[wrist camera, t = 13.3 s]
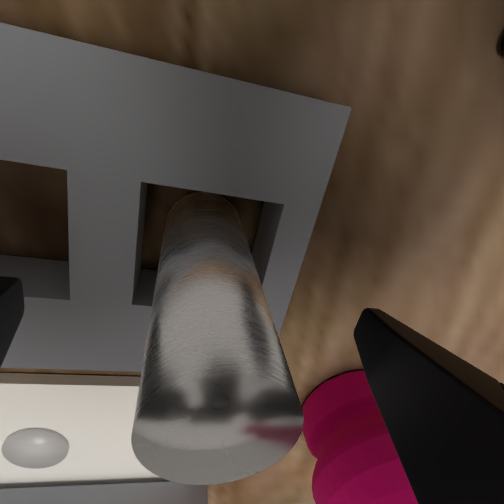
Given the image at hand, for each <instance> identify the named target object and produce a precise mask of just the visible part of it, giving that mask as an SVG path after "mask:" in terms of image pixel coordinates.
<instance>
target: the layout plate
mask: <svg viewBox="0 0 504 504" xmlns="http://www.w3.org/2000/svg"><path fill="white" fill-rule="evenodd" d="M140 379H141V377H134V376H98V375H62V374H26V373H0V489H8V488H32V487H55V486H78V485H101V484H125V483H148V482H171V481H169V480H167V479H164V478H161V477H159V476H157V475H155V474H153V473H152V472H150V471H149V470H147V469H146V468H145V467H144V466H143V465H142V464H141V463H140V462H139V461H138V459H137V458H136V456H135V454H134V452H133V448H132V444H131V435H132V429H133V423H134V416H135V410H136V404H137V397H138V391H139V385H140Z"/></svg>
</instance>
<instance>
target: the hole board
mask: <svg viewBox="0 0 504 504" xmlns="http://www.w3.org/2000/svg"><path fill="white" fill-rule="evenodd" d="M351 109H352V107H348V106H344V105H340V104H335V103H331V102H327V101H323V100H319V99H315V98H311V97H307V96H302V95H298V94H294V93H290V92H286V91H282V90H278V89H274V88H269V87H265V86H261V85H257V84H253V83H249V82H245V81H240V80H236V79H232V78H228V77H224V76H220V75H216V74H212V73H207V72H203V71H199V70H195V69H191V68H187V67H183V66H179V65H174V64H170V63H166V62H162V61H158V60H154V59H150V58H146V57H141V56H137V55H133V54H129V53H125V52H121V51H117V50H112V49H108V48H104V47H100V46H96V45H92V44H88V43H84V42H79V41H75V40H71V39H67V38H63V37H59V36H55V35H51V34H46V33H42V32H38V31H34V30H30V29H26V28H22V27H18V26H13V25H9V24H5V23H1V22H0V160H7V161H13V162H19V163H25V164H32V165H38V166H44V167H51V168H57V169H63V170H67V190H68V234H69V261H59V260H49V259H39V258H29V257H19V256H9V255H0V276H7V277H17V278H19V279H21V281H22V285H23V295H24V305H25V309H24V314H23V317H22V320H21V322H20V324H19V327H18V329H17V331H16V333H15V336H14V338H13V340H12V343H11V345H10V347H9V350H8V352H7V354H6V357H5V359H4V361H3V363H2V366H1V368H29V369H61V370H93V371H125V372H142V366H143V360H144V353H145V347H146V341H147V335H148V328H149V322H150V316H151V310H152V303H153V297H154V291H155V284H156V278H157V272H158V270H149V269H141V259H142V247H143V235H144V223H145V211H146V199H147V187H148V183H152V184H158V185H164V186H171V187H177V188H183V189H190V190H196V191H202V192H209V193H215V194H221V195H228V196H234V197H240V198H247V199H253V200H259V201H264V204H263V208H262V213H261V217H260V221H259V225H258V229H257V233H256V237H255V242H254V246H253V250H252V254H251V255H252V258H253V261H254V264H255V267H256V270H257V273H258V276H259V279H260V282H261V285H262V288H263V291H264V294H265V298H266V301H267V304H268V307H269V310H270V313H271V316H272V319H273V322H274V325H275V328H276V331H277V334H278V337H279V334H280V331H281V328H282V325H283V322H284V319H285V315H286V312H287V309H288V306H289V303H290V300H291V297H292V294H293V290H294V287H295V284H296V281H297V278H298V275H299V272H300V269H301V265H302V262H303V259H304V256H305V253H306V250H307V247H308V244H309V240H310V237H311V234H312V231H313V228H314V225H315V222H316V219H317V215H318V212H319V209H320V206H321V203H322V200H323V197H324V194H325V190H326V187H327V184H328V181H329V178H330V175H331V172H332V169H333V165H334V162H335V159H336V156H337V153H338V150H339V147H340V144H341V140H342V137H343V134H344V131H345V128H346V125H347V122H348V119H349V115H350V112H351Z"/></svg>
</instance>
